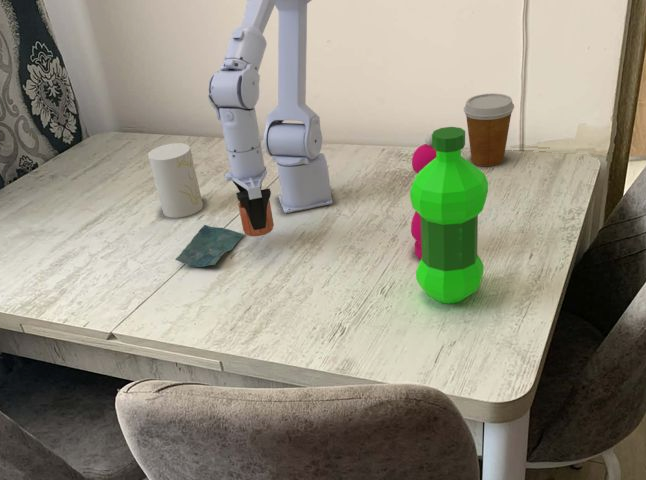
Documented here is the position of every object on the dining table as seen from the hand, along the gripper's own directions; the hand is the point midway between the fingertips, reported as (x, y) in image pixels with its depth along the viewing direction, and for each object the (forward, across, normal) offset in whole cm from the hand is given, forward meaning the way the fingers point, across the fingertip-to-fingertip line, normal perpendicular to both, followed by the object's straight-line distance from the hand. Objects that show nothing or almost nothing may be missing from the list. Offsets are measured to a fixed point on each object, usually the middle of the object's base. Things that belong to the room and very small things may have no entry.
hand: (257, 220), depth 128 cm
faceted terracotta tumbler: (+2, 0, 0) cm, 2 cm away
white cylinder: (+5, -22, -13) cm, 26 cm away
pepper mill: (+5, +15, +27) cm, 31 cm away
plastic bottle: (+5, +28, +25) cm, 38 cm away
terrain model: (+5, -1, -9) cm, 10 cm away
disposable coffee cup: (+5, -16, +49) cm, 52 cm away
